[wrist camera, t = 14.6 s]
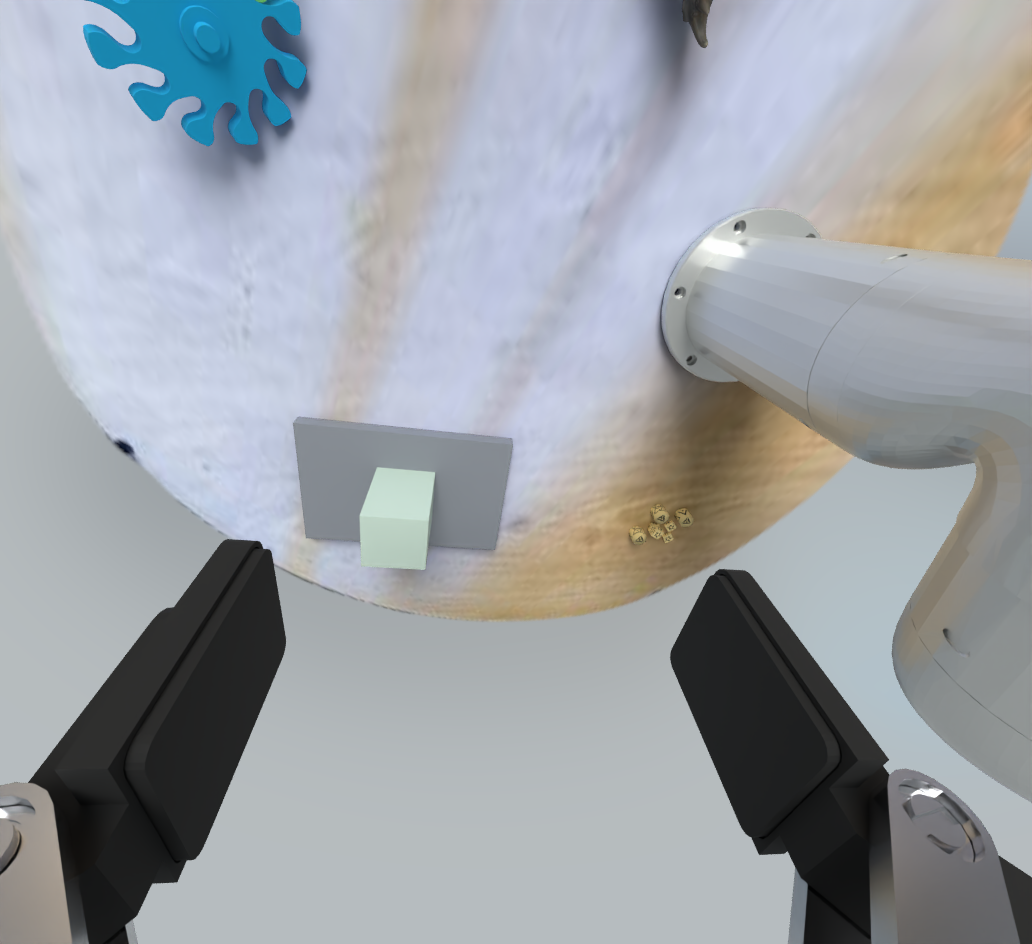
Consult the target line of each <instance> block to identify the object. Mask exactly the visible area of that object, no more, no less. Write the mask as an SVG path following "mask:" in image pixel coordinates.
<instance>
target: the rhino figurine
mask: <svg viewBox="0 0 1032 944" xmlns="http://www.w3.org/2000/svg"><path fill="white" fill-rule="evenodd" d="M712 1H713V0H683V7H682V12H683V21H684V22H689V24H690V25H691V28H692V31H693V33H694V36H695V38H696V40H697V42H698V44H699V45H700V46H701V47H702V48H706V47H707V45H708V41H707V39H706V23H707V17H708V13H709V10H710V6H711V4H712Z"/></svg>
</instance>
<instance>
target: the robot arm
mask: <svg viewBox="0 0 1032 944" xmlns="http://www.w3.org/2000/svg"><path fill="white" fill-rule="evenodd" d="M735 224H737V226H736V229H735V230H734V226H735ZM677 288H678V289H679V290H678V293H677V294H675V291H676V289H677ZM662 329H663V334H664V339H665V342H666V344H667V347H668V349H669V351H670V353H671V354H672V356H673V357H674V358H675V360H676V361H677V362H678V363H679V364H680V365H681V366H682V367H684V368H685V369H686V370H687V371H689V372H690V373H692V374H693V375H695V376H696V377H699V378H702V379H705V380H707V381H713V382H721V383H723V382H736V381H740V382H742V383H743V384H745V385H746V386H748V387H749V388H751V389H752V390H754V391H755V392H757V393H758V394H760V395H761V396H763V397H764V398H766V399H767V400H769V401H770V402H772V403H773V404H775V405H776V406H778V407H779V408H781V409H782V410H784V411H785V412H787V413H788V414H790V415H791V416H793V417H794V418H796V419H797V420H799V421H800V422H801V423H803V424H804V425H806V426H807V427H809V428H810V429H812V430H814V431H815V432H817V433H818V434H820V435H821V436H823V437H824V438H826V439H828V440H829V441H831V442H832V443H834V444H835V445H837V446H838V447H840V448H841V449H843V450H844V451H846V452H848V453H850V454H851V455H853V456H855V457H857V458H860V459H862V460H864V461H867V462H869V463H872V464H876V465H880V466H886V467H890V468H898V469H934V468H943V467H951V466H958V465H964V464H971V463H975V465H976V478H975V482H974V486H973V488H972V490H971V492H970V494H969V496H968V498H967V500H966V501H965V503H964V505H963V507H962V508H961V510H960V512H959V514H958V516H957V521H956V524H955V525H954V527H953V529H952V530H951V532H950V534H949V535H948V537H947V539H946V540H945V542H944V544H943V545H942V547H941V548H940V550H939V552H938V553H937V555H936V557H935V558H934V560H933V562H932V563H931V565H930V567H929V568H928V570H927V571H926V573H925V575H924V576H923V578H922V580H921V581H920V583H919V585H918V586H917V588H916V590H915V591H914V593H913V594H912V596H911V598H910V600H909V602H908V603H907V605H906V607H905V609H904V611H903V613H902V615H901V617H900V620H899V621H898V624H897V626H896V630H895V633H894V637H893V645H892V657H893V666H894V670H895V674H896V677H897V680H898V682H899V684H900V686H901V688H902V690H903V692H904V694H905V696H906V697H907V699H908V701H909V702H910V704H911V705H912V707H913V708H914V709H915V711H916V712H917V713H918V715H919V716H920V717H921V718H922V719H923V720H924V721H925V723H926V724H927V725H928V726H929V727H930V728H931V729H932V730H933V731H934V732H935V733H936V734H937V735H938V736H939V737H940V738H941V739H942V740H943V741H944V742H945V743H946V744H947V745H949V746H950V747H951V748H952V749H953V750H955V751H956V752H957V753H958V754H959V755H960V756H962V757H963V758H965V759H966V760H967V761H969V762H970V763H971V764H972V765H974V766H975V767H977V768H978V769H979V770H981V771H982V772H983V773H985V774H986V775H988V776H989V777H991V778H992V779H994V780H995V781H997V782H998V783H1000V784H1001V785H1003V786H1005V787H1006V788H1008V789H1010V790H1011V791H1013V792H1015V793H1016V794H1018V795H1020V796H1021V797H1023V798H1025V799H1027V800H1028V801H1030V802H1032V260H1022V259H1011V258H1001V257H991V256H981V255H971V254H959V253H949V252H940V251H930V250H921V249H911V248H902V247H892V246H883V245H873V244H864V243H854V242H845V241H835V240H826V239H823V238H822V236H821V234H820V232H819V231H818V230H817V229H816V228H815V226H814V225H813V224H812V223H811V222H810V221H808V220H807V219H806V218H804V217H803V216H801V215H800V214H798V213H795V212H792V211H789V210H786V209H778V208H754V209H750V210H746V211H742V212H738V213H735V214H733V215H731V216H729V217H727V218H725V219H723V220H721V221H719V222H718V223H716V224H715V225H713V226H712V227H711V228H709V229H708V230H706V231H705V232H704V233H703V234H702V235H701V236H700V237H699V238H698V239H697V240H696V241H695V242H694V243H693V244H692V245H691V246H690V247H689V248H688V250H687V251H686V252H685V254H684V255H683V256H682V258H681V259H680V260H679V262H678V264H677V266H676V268H675V269H674V271H673V273H672V275H671V277H670V280H669V283H668V285H667V288H666V291H665V294H664V300H663V305H662ZM689 356H690V357H689ZM688 357H689V359H687V358H688ZM285 646H286V636H285V631H284V624H283V618H282V613H281V606H280V600H279V595H278V588H277V582H276V576H275V570H274V564H273V558H272V553H271V551H270V550H269V549H263V547H262V544H261V543H260V542H259V541H248V540H232V539H227V540H225V541H223V542H222V543H221V544H220V545H219V547H218V548H217V550H216V551H215V552H214V554H213V555H212V557H211V558H210V559H209V561H208V562H207V563H206V564H205V566H204V567H203V569H202V570H201V571H200V573H199V574H198V575H197V577H196V578H195V579H194V581H193V582H192V583H191V585H190V586H189V588H188V589H187V590H186V592H185V593H184V594H183V596H182V597H181V598H180V600H179V601H178V602H177V604H176V605H175V607H173V608H166V609H165V610H163V611H161V612H160V613H159V614H158V615H157V616H156V617H155V618H154V619H153V620H152V622H151V623H150V624H149V625H148V627H147V628H146V629H145V631H144V632H143V633H142V635H141V636H140V637H139V639H138V640H137V641H136V643H135V644H134V645H133V646H132V648H131V649H130V650H129V652H128V653H127V654H126V655H125V657H124V658H123V660H122V661H121V662H120V663H119V665H118V666H117V667H116V669H115V670H114V671H113V673H112V674H111V675H110V676H109V678H108V679H107V680H106V682H105V683H104V684H103V685H102V687H101V688H100V690H99V691H98V692H97V693H96V695H95V696H94V697H93V699H92V700H91V701H90V702H89V704H88V705H87V706H86V708H85V709H84V710H83V712H82V713H81V714H80V716H79V717H78V718H77V720H76V721H75V722H74V723H73V725H72V726H71V727H70V729H69V730H68V731H67V733H66V734H65V735H64V737H63V738H62V739H61V740H60V742H59V743H58V744H57V746H56V747H55V748H54V749H53V751H52V752H51V753H50V755H49V756H48V758H47V759H46V760H45V761H44V763H43V764H42V765H41V766H40V768H39V769H38V770H37V772H36V773H35V774H34V776H33V777H32V778H31V780H30V781H29V782H28V783H18V782H14V783H10V784H5V785H0V944H138V942H137V937H136V933H135V928H134V923H133V919H134V918H135V917H136V916H137V915H138V912H139V910H140V908H141V906H142V904H143V902H144V900H145V898H146V895H147V893H148V891H149V889H150V887H151V885H152V883H174V882H178V879H179V877H180V875H181V872H182V870H183V868H184V865H185V863H186V861H187V860H194V859H196V857H197V856H198V855H199V854H200V852H201V850H202V849H203V847H204V844H205V842H206V840H207V838H208V835H209V833H210V830H211V828H212V826H213V823H214V821H215V818H216V816H217V813H218V811H219V809H220V806H221V804H222V802H223V799H224V797H225V794H226V792H227V790H228V787H229V785H230V782H231V780H232V778H233V775H234V773H235V770H236V768H237V766H238V763H239V761H240V758H241V756H242V753H243V751H244V749H245V746H246V744H247V742H248V739H249V737H250V734H251V732H252V730H253V727H254V725H255V722H256V720H257V718H258V715H259V713H260V710H261V708H262V706H263V703H264V701H265V698H266V696H267V694H268V691H269V689H270V687H271V684H272V682H273V679H274V677H275V675H276V672H277V669H278V667H279V665H280V663H281V660H282V658H283V655H284V651H285ZM670 660H671V664H672V668H673V670H674V672H675V675H676V677H677V679H678V682H679V684H680V686H681V689H682V691H683V693H684V696H685V698H686V700H687V702H688V705H689V707H690V710H691V712H692V714H693V716H694V719H695V721H696V724H697V726H698V728H699V730H700V733H701V735H702V738H703V740H704V742H705V744H706V747H707V749H708V752H709V754H710V756H711V758H712V761H713V763H714V765H715V768H716V770H717V773H718V775H719V777H720V780H721V782H722V784H723V787H724V789H725V791H726V793H727V796H728V798H729V800H730V803H731V805H732V807H733V810H734V812H735V814H736V817H737V819H738V821H739V823H740V825H741V828H742V829H743V831H744V832H745V833H746V834H747V835H748V836H749V837H752V840H753V842H754V844H755V846H756V849H757V851H758V853H759V855H767V854H784V853H786V852H787V851H788V853H789V855H790V857H791V859H792V861H793V863H794V865H795V877H794V887H793V897H792V907H791V918H790V928H789V939H788V944H1032V877H1030V876H1029V875H1027V874H1026V873H1024V872H1023V871H1021V870H1020V869H1018V868H1017V867H1015V866H1013V865H1012V864H1011V863H1009V862H1008V861H1006V860H1005V859H1003V858H1002V857H1000V856H999V855H998V853H997V850H996V847H995V845H994V842H993V840H992V838H991V836H990V834H989V833H988V831H987V830H986V828H985V827H984V825H983V824H982V822H981V821H980V819H979V818H978V817H977V816H976V815H975V814H974V813H973V811H972V810H971V809H970V808H969V807H968V806H967V805H966V804H965V803H964V802H963V801H962V800H961V799H960V798H959V797H957V796H956V795H955V794H954V793H953V792H952V791H951V790H949V789H948V788H947V787H945V786H944V785H942V784H940V783H939V782H938V781H936V780H935V779H933V778H931V777H929V776H927V775H924V774H922V773H920V772H917V771H914V770H909V769H899V770H895V771H894V772H892V773H891V774H890V775H889V774H888V772H887V771H886V769H885V768H884V767H883V765H884V764H885V763H886V762H887V761H888V760H889V759H888V758H887V756H886V755H885V754H884V752H883V751H882V750H881V748H880V747H879V746H878V744H877V743H876V742H875V740H874V739H873V738H872V736H871V735H870V734H869V732H868V731H867V730H866V728H865V727H864V725H863V724H862V723H861V721H860V720H859V719H858V718H857V716H856V715H855V713H854V712H853V711H852V710H851V708H850V707H849V705H848V704H847V703H846V701H845V700H844V699H843V697H842V696H841V695H840V693H839V692H838V691H837V689H836V688H835V687H834V686H833V684H832V683H831V681H830V680H829V679H828V677H827V676H826V675H825V673H824V672H823V671H822V669H821V668H820V667H819V665H818V664H817V663H816V661H815V660H814V659H813V658H812V656H811V655H810V653H809V652H808V651H807V649H806V648H805V647H804V645H803V644H802V643H801V642H800V640H799V639H798V637H797V636H796V634H795V633H794V632H793V631H792V629H791V628H790V626H789V625H788V624H787V622H786V621H785V620H784V618H783V617H782V616H781V614H780V613H779V612H778V611H777V609H776V608H775V606H774V605H773V604H772V602H771V601H770V600H769V598H768V597H767V596H766V594H765V593H764V592H763V590H762V589H761V588H760V586H759V585H758V584H757V582H756V581H755V580H754V578H753V577H752V576H751V575H750V574H749V573H748V572H746V571H743V570H725V569H719V570H718V571H716V573H715V574H714V575H712V576H710V577H709V578H708V580H707V582H706V584H705V586H704V587H703V590H702V592H701V593H700V595H699V597H698V599H697V601H696V603H695V605H694V607H693V609H692V611H691V613H690V615H689V617H688V619H687V621H686V622H685V625H684V626H683V628H682V630H681V632H680V634H679V636H678V638H677V640H676V642H675V644H674V646H673V648H672V650H671V656H670Z"/></svg>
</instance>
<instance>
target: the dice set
mask: <svg viewBox="0 0 1032 944" xmlns="http://www.w3.org/2000/svg"><path fill="white" fill-rule="evenodd" d="M650 513H651V515H652V517H653V518H654V520H655V521H656V522H657V523H650V525H649V527H648V532H649V533H650V535H651V536H652V537H654V538H656V539H659V538H660V537H661V536H662V538H663V540H664V542H665V543H667V542H670V541H672V540H674V539H673V536H672V534H671V532H670V531H672V530H674V529H676V528H677V527H676V526H675V524H674V523H673V521H672V520H671V521H669V522H667V523H666V524H664V523H665V522H666V521H668V519H669V514H668V513H667V511H666V510H665V508H664V507H663V506H662V505H655V506H654V507H652V508H651V512H650ZM674 516H675V517H676V519H677V520H678V522H679V523H680V525H681V526H682V527H688V526H690V525H692V524H693V521H694V519H693V517H692V516H691V515H690V513H689V512H688V510H687V509H685V508H681V509H679V510H677V511H676V513H675V515H674ZM660 524H664V526H665V528H666V529H667V531H668V533H665V534H664V532H663V530H662V528H661V527H660ZM629 535H630V537H631V539H632V542H633V543H634V544H636V545H642V544H643V543H644V542H646V538H647V537H646V535H645V533H644V531H643V529H642V528H641V527H640V526H634V527H632V528H631V529H630V530H629Z"/></svg>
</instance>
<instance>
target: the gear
mask: <svg viewBox="0 0 1032 944" xmlns="http://www.w3.org/2000/svg"><path fill="white" fill-rule="evenodd" d="M86 1H91V2H94V3H97V4H100V5H102V6H104V7H106V8H108V9H110V10H111V11H113V12H114V13H116V14H117V15H118V16H119V17H121V18H122V19H123V20H124V21H125V22H126V23H127V24H129V25H130V26H131V27H132V28H133V29H134V31H135V34H136V41H135V43H134V44H132V45H129V46H127V45H123V44H121V43H119V42H117V41H116V40H115V39H114V38H113V37H112V36H110V35H109V34H108V33H107V32H106V31H105V30H103V29H102V28H100V27H98V26H96V25H92V24H87V25H84V26H83V32H84V36H85V40H86V43H87V45H88V48H89V50H90V52H91V54H92V56H93V58H94V59H95V61H96V63H97V64H98V65H100V66H101V67H104V68H107V69H115V68H117V67H119V66H121V65H125V64H141V65H145V66H148V67H151V68H154V69H156V70H159V71H161V72H162V73H164V76H165V82H164V84H163V85H162V86H161V87H153V86H150V85H147V84H144V83H139V82H136V83H133V84H131V85H130V86H129V89H128V90H129V92H130V94H131V96H132V97H133V99H134V100H135V102H136V103H137V105H138V106H139V107H140V109H141V110H142V111H143V112H144V113H145V114H146V115H147V116H148V117H149V118H150V119H151V120H152V121H157V120H160V119H162V118H163V116H164V114H165V112H166V110H167V108H168V106H169V105H170V104H171V103H172V102H174V101H176V100H178V99H181V98H184V97H189V96H195V97H197V98H199V99H200V100H201V108H200V109H199V110H198V111H196V112H192V113H188V114H186V115H184V116H183V118H182V120H181V125H182V127H183V129H184V130H185V132H186V133H187V134H188V135H189V136H190V137H191V138H193V139H194V140H196V141H198V142H199V143H201V144H204V145H206V146H210V145H211V144H212V143H213V141H214V133H213V122H214V118H215V115H216V113H217V112H218V110H219V109H220V108H221V106H222V105H223V104H224V103H226V102H231V103H234V104H235V105H236V112H235V114H234V115H233V117H232V118H231V119H230V121H229V123H228V129H229V132H230V134H231V136H232V137H233V138H234V139H235V141H236V142H237V143H240V144H245V145H252V144H257V142H258V134H257V132H256V130H255V129H254V127H253V125H252V123H251V120H250V117H249V111H248V102H249V94H250V92H251V91H252V90H253V89H260V90H262V92H263V100H262V109H263V112H264V114H265V116H266V117H267V118H268V119H269V120H270V122H271V123H272V124H273V125H274V126H279V125H281V124H283V123H285V122H286V121H288V120H289V119H290V118H291V113H290V110H289V109H288V107H287V106H286V105H285V104H284V103H283V101H282V100H281V99H280V98H279V97H277V96H276V95H275V94H274V93H273V91H272V90H271V88H270V86H269V84H268V81H267V78H266V75H265V72H264V64H265V62H266V60H268V59H275V60H276V62H277V65H278V68H279V71H280V73H281V75H282V76H283V78H284V79H285V80H286V81H287V82H288V83H289V84H290V85H291V86H292V87H294V88H297V89H298V88H299V87H300V86H301V84H302V83H303V80H304V78H305V75H306V71H307V69H306V67H305V66H304V65H303V63H302V62H301V61H300V60H299V59H298V58H297V57H296V56H294V55H293V54H290V53H285V52H283V51H280V50H279V49H277V48H275V47H274V46H273V45H272V44H270V42H269V41H268V40H267V39H266V37H265V36H264V34H263V32H262V26H261V25H262V21H263V19H264V18H265V17H267V16H272V17H274V18H275V20H276V21H277V22H278V23H279V25H280V26H281V27H282V28H283V29H284V30H285V31H286V32H288V33H289V34H291V35H294V36H295V35H299V34H300V30H301V18H300V11H299V6H298V5H297V4H295V3H294V2H293V1H292V0H86Z"/></svg>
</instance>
